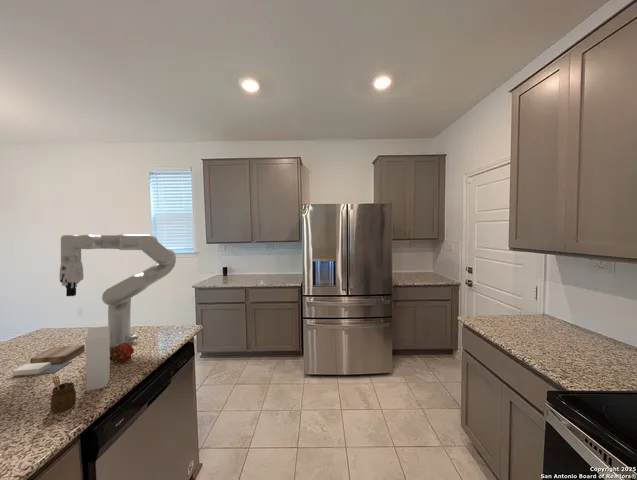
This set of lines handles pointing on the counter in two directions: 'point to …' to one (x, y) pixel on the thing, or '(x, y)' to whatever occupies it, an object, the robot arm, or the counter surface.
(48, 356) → the brown square plate
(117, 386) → the counter surface
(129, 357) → the dragon fruit
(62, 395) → the utensil holder
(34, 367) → the white rectangular block
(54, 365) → the mat
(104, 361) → the milk
